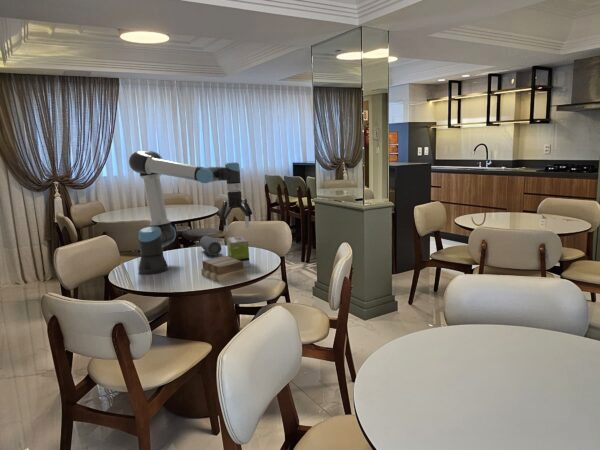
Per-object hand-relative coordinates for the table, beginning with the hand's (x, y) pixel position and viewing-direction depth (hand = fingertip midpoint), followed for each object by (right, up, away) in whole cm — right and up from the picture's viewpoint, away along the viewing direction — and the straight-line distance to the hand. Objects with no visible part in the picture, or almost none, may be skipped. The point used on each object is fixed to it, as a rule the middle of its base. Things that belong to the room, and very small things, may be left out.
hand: (237, 229), depth 239 cm
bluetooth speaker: (-21, -16, +33) cm, 42 cm away
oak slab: (-5, -24, -16) cm, 29 cm away
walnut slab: (-5, -20, -17) cm, 27 cm away
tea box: (+1, -20, +4) cm, 20 cm away
